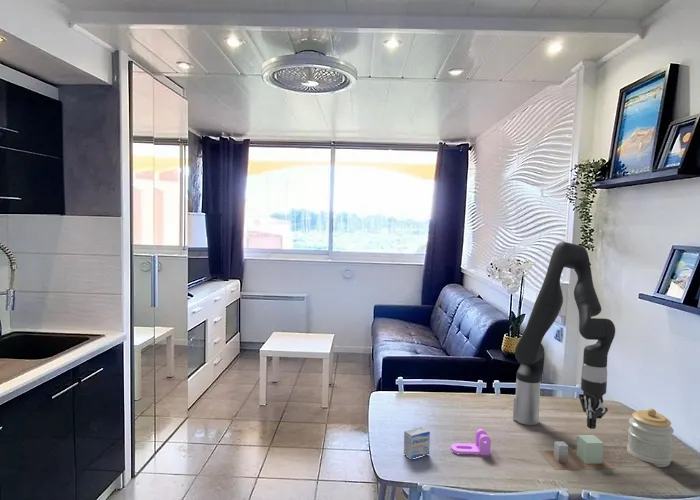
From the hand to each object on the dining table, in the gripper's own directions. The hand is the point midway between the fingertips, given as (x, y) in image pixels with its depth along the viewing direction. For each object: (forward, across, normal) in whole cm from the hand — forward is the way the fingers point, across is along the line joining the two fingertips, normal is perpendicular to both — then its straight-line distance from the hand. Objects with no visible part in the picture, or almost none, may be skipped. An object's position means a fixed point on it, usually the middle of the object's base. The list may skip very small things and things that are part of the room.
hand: (591, 427), depth 154 cm
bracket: (+13, -10, -38) cm, 41 cm away
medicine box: (+13, -8, -58) cm, 59 cm away
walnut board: (+12, 0, -5) cm, 13 cm away
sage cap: (+11, 0, 0) cm, 11 cm away
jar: (+13, -2, +23) cm, 26 cm away
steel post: (+11, 0, -10) cm, 15 cm away
